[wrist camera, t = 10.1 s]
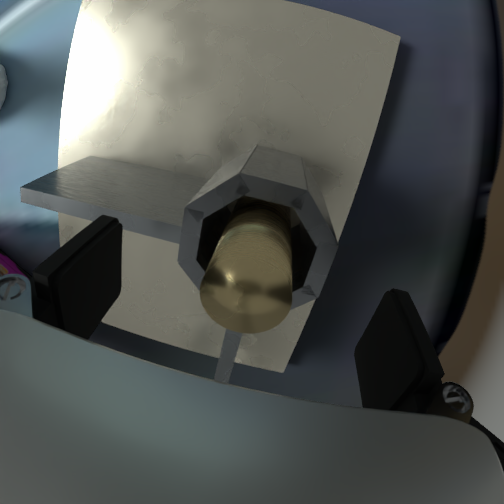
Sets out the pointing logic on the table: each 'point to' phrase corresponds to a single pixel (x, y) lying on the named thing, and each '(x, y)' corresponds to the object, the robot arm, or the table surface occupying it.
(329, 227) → the grey walled base plate
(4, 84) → the seated beast figurine
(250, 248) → the pin
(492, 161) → the table surface
